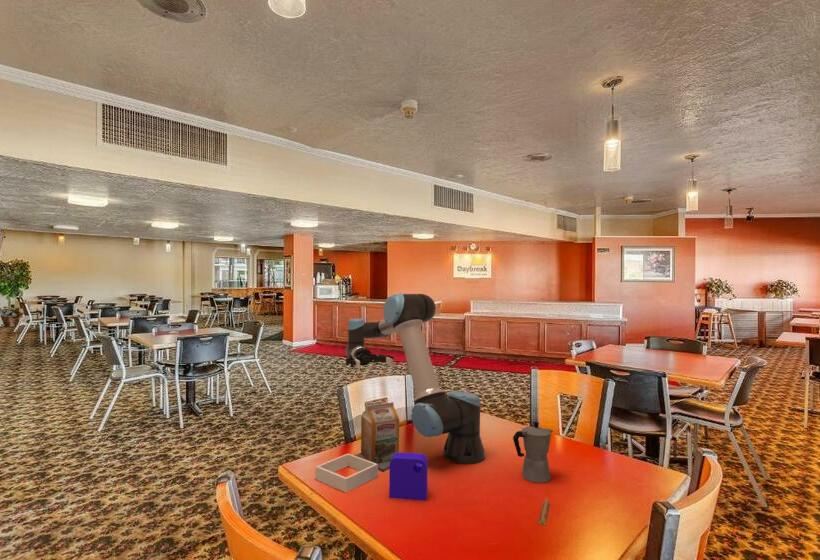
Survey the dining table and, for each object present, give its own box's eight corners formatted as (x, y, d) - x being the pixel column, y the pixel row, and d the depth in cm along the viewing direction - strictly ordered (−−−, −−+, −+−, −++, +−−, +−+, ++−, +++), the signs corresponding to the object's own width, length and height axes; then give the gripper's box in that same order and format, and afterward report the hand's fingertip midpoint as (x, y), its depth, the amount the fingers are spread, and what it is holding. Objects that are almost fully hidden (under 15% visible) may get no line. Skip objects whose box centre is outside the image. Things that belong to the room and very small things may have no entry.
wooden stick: (551, 506, 120) (551, 498, 120) (547, 528, 109) (547, 519, 109) (542, 504, 121) (542, 496, 121) (536, 525, 110) (536, 517, 110)
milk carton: (371, 464, 145) (371, 409, 145) (360, 453, 154) (361, 401, 155) (398, 459, 149) (399, 405, 150) (387, 449, 159) (387, 398, 159)
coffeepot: (543, 468, 145) (543, 416, 145) (562, 480, 136) (562, 424, 137) (505, 474, 140) (505, 420, 140) (522, 487, 131) (522, 429, 131)
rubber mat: (409, 458, 152) (409, 456, 152) (383, 471, 141) (383, 469, 141) (376, 448, 162) (376, 446, 162) (350, 459, 151) (350, 457, 151)
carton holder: (377, 476, 138) (378, 464, 138) (345, 492, 126) (346, 479, 126) (347, 465, 146) (347, 453, 146) (315, 479, 135) (315, 466, 135)
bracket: (426, 501, 122) (426, 460, 122) (389, 498, 123) (389, 457, 124) (430, 474, 140) (430, 438, 140) (398, 472, 141) (398, 436, 142)
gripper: (388, 362, 190) (405, 371, 170) (333, 366, 180) (344, 375, 161) (388, 346, 190) (405, 352, 170) (333, 348, 181) (344, 355, 161)
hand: (375, 363), depth 165 cm, fingers open, 13 cm apart
